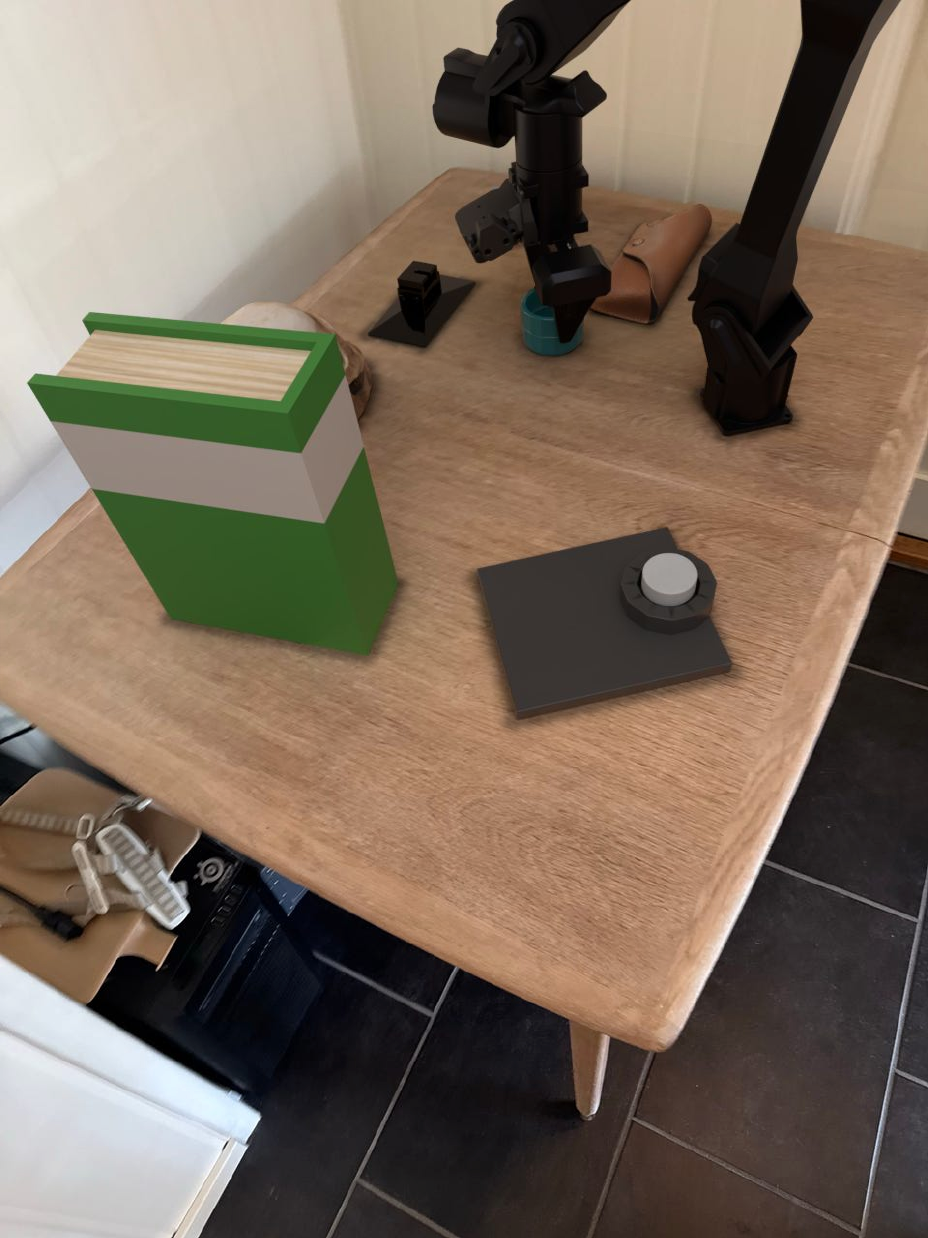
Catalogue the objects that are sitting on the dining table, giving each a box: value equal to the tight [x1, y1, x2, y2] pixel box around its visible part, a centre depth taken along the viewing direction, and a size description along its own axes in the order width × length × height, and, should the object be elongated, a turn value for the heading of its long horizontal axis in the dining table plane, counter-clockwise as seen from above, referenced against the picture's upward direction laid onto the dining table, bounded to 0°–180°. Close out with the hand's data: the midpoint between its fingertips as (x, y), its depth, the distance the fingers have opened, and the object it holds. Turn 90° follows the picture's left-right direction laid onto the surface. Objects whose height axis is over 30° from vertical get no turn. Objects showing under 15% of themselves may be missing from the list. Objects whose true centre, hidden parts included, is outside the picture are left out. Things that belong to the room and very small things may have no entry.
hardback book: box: [26, 311, 400, 656], centre depth 63 cm, size 18×7×24 cm, turn 74°
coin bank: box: [219, 301, 373, 421], centre depth 82 cm, size 16×17×13 cm
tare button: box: [641, 553, 697, 606], centre depth 66 cm, size 4×4×2 cm
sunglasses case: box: [589, 203, 713, 325], centre depth 94 cm, size 18×7×7 cm
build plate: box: [367, 260, 477, 349], centre depth 94 cm, size 12×7×5 cm, turn 154°
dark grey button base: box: [476, 526, 733, 721], centre depth 67 cm, size 17×14×3 cm
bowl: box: [520, 287, 585, 357], centre depth 88 cm, size 6×6×4 cm
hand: (553, 315), depth 88 cm, fingers open, 9 cm apart
